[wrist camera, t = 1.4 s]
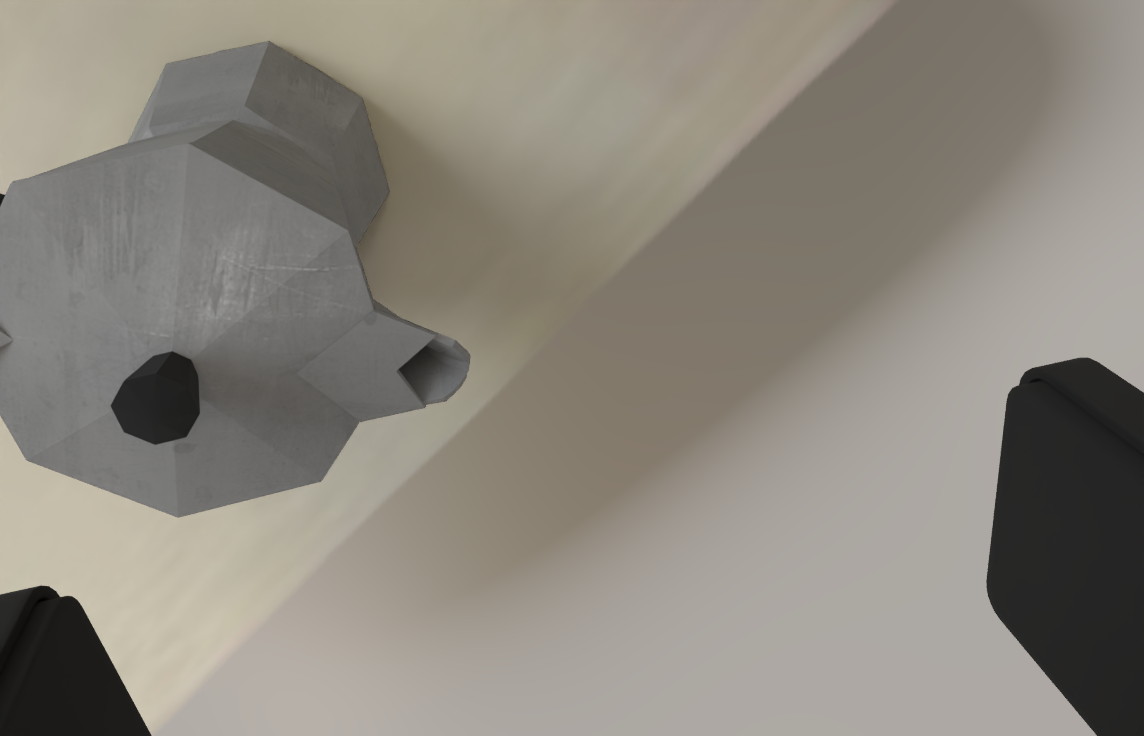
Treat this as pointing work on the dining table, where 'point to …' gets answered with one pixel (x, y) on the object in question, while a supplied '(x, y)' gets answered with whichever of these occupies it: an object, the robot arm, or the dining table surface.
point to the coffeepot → (208, 293)
